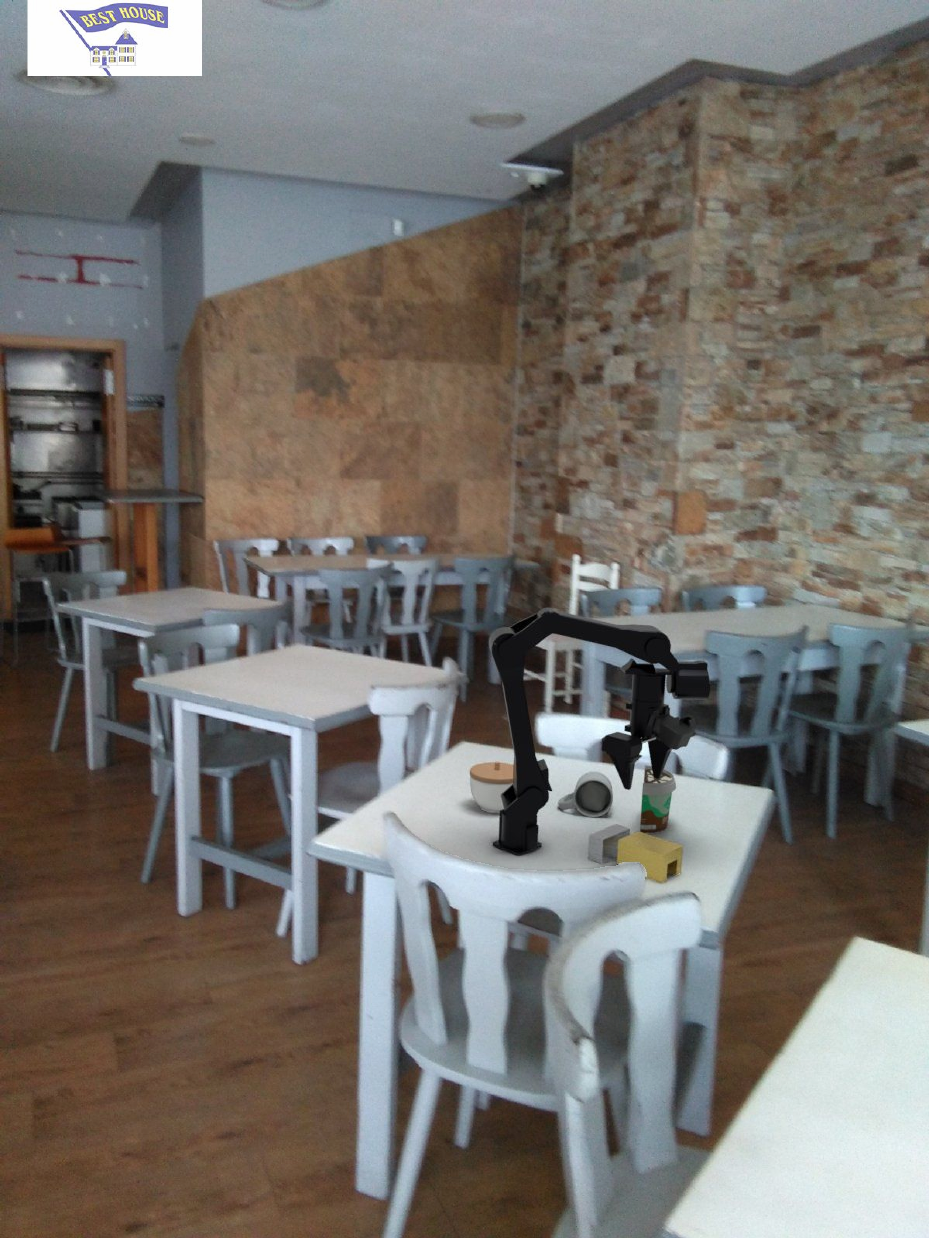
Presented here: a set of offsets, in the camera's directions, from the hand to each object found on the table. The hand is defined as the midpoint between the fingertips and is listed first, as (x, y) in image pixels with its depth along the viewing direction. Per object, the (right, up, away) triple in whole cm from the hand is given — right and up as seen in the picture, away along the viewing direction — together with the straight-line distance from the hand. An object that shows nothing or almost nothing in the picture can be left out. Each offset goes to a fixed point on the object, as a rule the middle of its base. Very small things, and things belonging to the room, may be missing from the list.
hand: (642, 783), depth 186 cm
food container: (+5, -10, +13) cm, 18 cm away
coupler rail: (-4, -13, -5) cm, 14 cm away
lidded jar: (-26, -8, +20) cm, 34 cm away
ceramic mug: (-8, -9, +21) cm, 24 cm away
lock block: (0, -14, -8) cm, 16 cm away
